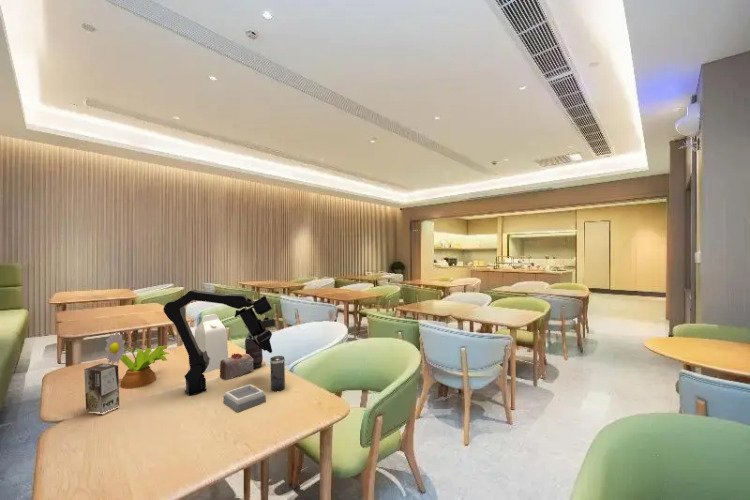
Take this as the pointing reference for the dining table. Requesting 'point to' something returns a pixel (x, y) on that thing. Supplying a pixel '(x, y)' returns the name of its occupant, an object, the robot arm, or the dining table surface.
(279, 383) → the dark tapered cup
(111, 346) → the decorative plant
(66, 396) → the dining table surface
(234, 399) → the shallow square tray
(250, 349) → the camera lens
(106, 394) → the coffee box
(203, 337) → the milk
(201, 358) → the robot arm
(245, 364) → the weathered brick
